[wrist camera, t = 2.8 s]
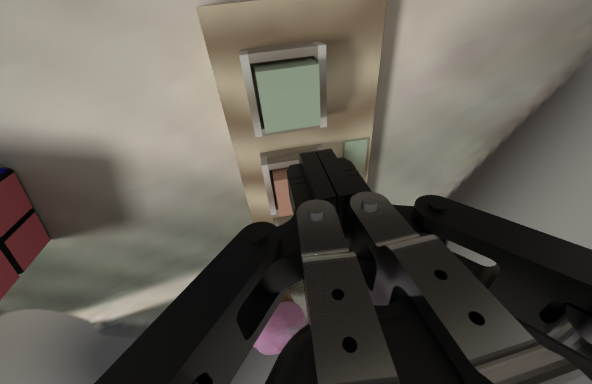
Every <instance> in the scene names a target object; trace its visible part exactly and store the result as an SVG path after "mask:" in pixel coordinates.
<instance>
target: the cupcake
mask: <svg viewBox="0 0 592 384" xmlns="http://www.w3.org/2000/svg"><path fill="white" fill-rule="evenodd" d="M304 326H305V316H304V313H303V311H302V310H301V308H300V307H299V305H298V304H296V303H294V301H293V299H292V297H291V294H290V292H289V289H287V292H286V294H285V295H284V297H283V299H282V300H281V302H280V303H279V305H278V307H277V308H276V310H275V312H274V313H273V315H272V316H271V318H270V320H269V321H268V323H267V324H266V326H265V328H264V329H263V331H262V333H261V334H260V336H259V337H258V339H257V341H256V342H255V344H254V345H253V347H255V348H257V349H258V351H260V352H261V353H262V354H266V355H273V354H278V353H280V352H281V351H282V349H283V348H284V346H285V345H286V343H287V342H288V341H289V340H290V339H291V338H292V336H293V335H294V334H296V333H297V332H298V331H299V330H300V329H301V328H303V327H304Z"/></svg>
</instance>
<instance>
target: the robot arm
mask: <svg viewBox="0 0 592 384" xmlns="http://www.w3.org/2000/svg"><path fill="white" fill-rule="evenodd" d="M287 181H288V189H289V198H290V202H291V207H292V211H293V217H292V218H291V219H290V220H289V221H287V222H286V223H284V224H282V225H280V226H275V225H274V224H272V223H269V222H255V223H252V224H250V225H248V226H246V227H245V228H243V229H242V230H241V231H240V232H239V233H238V234H237V235H236V237H235V238H234V239H233V240H232V241H231V242H230V243H229V244H228V245H227V246H226V247H225V248H224V249H223V250H222V251H221V252H220V253H219V254H218V255H217V256H216V257H215V258H214V259H213V260H212V261H211V263H210V264H209V265H208V266H207V267H206V268H205V269H204V270H203V271H202V272H201V273H200V274H199V275H198V276H197V277H196V278H195V279H194V280H193V281H192V282H191V283H190V284H189V285H188V286H187V288H186V289H185V290H184V291H183V292H182V293H181V294H180V295H179V296H178V297H177V298H176V299H175V300H174V301H173V302H172V303H171V304H170V305H169V306H168V307H167V308H166V309H165V310H164V311H163V313H162V314H161V315H160V316H159V317H158V318H157V319H156V320H155V321H154V322H153V323H152V324H151V325H150V326H149V327H148V328H147V329H146V330H145V331H144V332H143V333H142V334H141V335H140V336H139V338H138V339H137V340H136V341H135V342H134V343H133V344H132V345H131V346H130V347H129V348H128V349H127V350H126V351H125V352H124V353H123V354H122V355H121V356H120V357H119V358H118V359H117V360H116V362H115V363H114V364H113V365H112V366H111V367H110V368H109V369H108V370H107V371H106V372H105V373H104V374H103V375H102V376H101V377H100V378H99V379H98V380H97V381H96V382H95V383H94V384H230V383H231V381H232V379H233V378H234V376H235V375H236V373H237V371H238V370H239V368H240V366H241V365H242V363H243V362H244V360H245V358H246V357H247V355H248V354H249V352H250V350H251V348H252V347H253V345H254V344H255V342H256V341H257V339H258V337H259V336H260V334H261V333H262V331H263V329H264V328H265V326H266V324H267V323H268V321H269V320H270V318H271V316H272V315H273V313H274V312H275V310H276V308H277V307H278V305H279V303H280V302H281V300H282V299H283V297H284V295H285V294H286V292H287V289H288V287H289V286H291V285H292V284H294V283H296V282H298V281H300V280H302V279H303V282H304V291H305V299H306V308H307V317H308V324H307V325H306V326H304V327H303V328H301V329H300V330H299V331H298V332H297V333H296V334H294V335H293V336H292V338H291V339H290V340H289V341H288V342H287V343H286V345H285V346H284V348H283V349H282V351H281V352H280V354H279V356H278V358H277V360H276V362H275V364H274V366H273V368H272V370H271V372H270V374H269V376H268V379H267V380H266V382H265V384H592V250H591V249H588V248H585V247H582V246H580V245H577V244H574V243H571V242H568V241H566V240H562V239H560V238H557V237H554V236H551V235H548V234H546V233H543V232H540V231H537V230H534V229H532V228H529V227H526V226H523V225H520V224H517V223H515V222H512V221H509V220H506V219H503V218H501V217H498V216H495V215H492V214H489V213H487V212H484V211H481V210H478V209H475V208H472V207H470V206H467V205H464V204H461V203H458V202H456V201H453V200H450V199H447V198H444V197H441V196H436V195H425V196H421V197H419V198H418V199H417V200H416V201H415V205H414V206H402V205H392V204H391V203H390V202H389V200H388V199H387V198H386V197H384V196H383V195H381V194H378V193H375V192H372V191H371V190H370V188H369V187H368V185H367V184H366V182H365V181H364V179H363V178H362V176H361V175H360V173H359V172H358V170H356V167H355V166H354V165H353V163H352V162H351V161H349V160H348V159H346V158H344V157H341V158H337V157H336V155H335V153H334V152H333V150H332V149H331V148H330V149H323V150H316V151H309V152H302V153H299V164H293V165H289V167H288V170H287ZM449 241H452V242H454V243H456V244H458V245H460V246H463V247H465V248H467V249H470V250H472V251H474V252H476V253H479V254H481V255H483V256H485V257H488V258H490V259H492V260H493V261H495V262H496V263H497V264H496V265H495V266H492V267H486V266H482V265H480V264H478V263H476V262H473V261H471V260H469V259H467V258H465V257H463V256H461V255H458V254H456V253H454V252H452V251H451V250H450V249H449V248H448V247H447V245H448V242H449Z"/></svg>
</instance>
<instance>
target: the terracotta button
mask: <svg viewBox="0 0 592 384" xmlns="http://www.w3.org/2000/svg"><path fill="white" fill-rule="evenodd" d="M287 170H288V167H285V168H279V169H273V170H272V173H273V180H274V185H275V191H276V197H277V203H278V209H279V215H280V217H283V216H289V215H293V211H292V207H291V202H290V198H289V189H288V181H287Z"/></svg>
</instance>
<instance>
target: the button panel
mask: <svg viewBox="0 0 592 384" xmlns="http://www.w3.org/2000/svg"><path fill="white" fill-rule="evenodd" d="M386 4H387V0H256V1H246V2H237V3H228V4H218V5H209V6H199V7H196V9H197V13H198V17H199V20H200V24H201V28H202V32H203V35H204V39H205V43H206V47H207V50H208V54H209V58H210V62H211V65H212V69H213V73H214V77H215V81H216V84H217V88H218V92H219V96H220V99H221V103H222V107H223V111H224V114H225V118H226V122H227V126H228V129H229V133H230V137H231V141H232V144H233V148H234V152H235V156H236V160H237V163H238V167H239V171H240V175H241V178H242V182H243V186H244V190H245V193H246V197H247V201H248V205H249V208H250V212H251V216H252V220H253V223H255V222H269V223H272V224H274V225H275V226H280V225H282V224H284V223H286V222H287V221H289V220H290V219H291V218H292V217H293V215H289V216H283V217H280V215H279V209H278V203H277V197H276V191H275V185H274V180H273V173H272V170H273V169H279V168H285V167H289V165H293V164H299V153H302V152H309V151H316V150H323V149H330V148H331V149H332V150H333V152H334V153H335V155H336V157H337V158H341V157H344V158H346V159H348V160H349V161H351V162H352V163H353V165H354V166H355V167H356V170H358V172H359V173H360V175H361V176H362V178H363V179H364V181H365V182H366V184H367V177H368V168H369V159H370V150H371V140H372V131H373V122H374V113H375V104H376V95H377V86H378V77H379V67H380V58H381V49H382V40H383V31H384V22H385V13H386ZM308 58H312V59H314V60H315V61H316V62H317V63H318V64H319V79H320V119H321V125H318V126H311V127H305V128H298V129H291V130H284V131H278V132H271V133H265V127H264V121H263V115H262V109H261V104H260V98H259V92H258V86H257V80H256V74H255V68H254V65H261V64H269V63H277V62H285V61H292V60H300V59H308Z"/></svg>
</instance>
